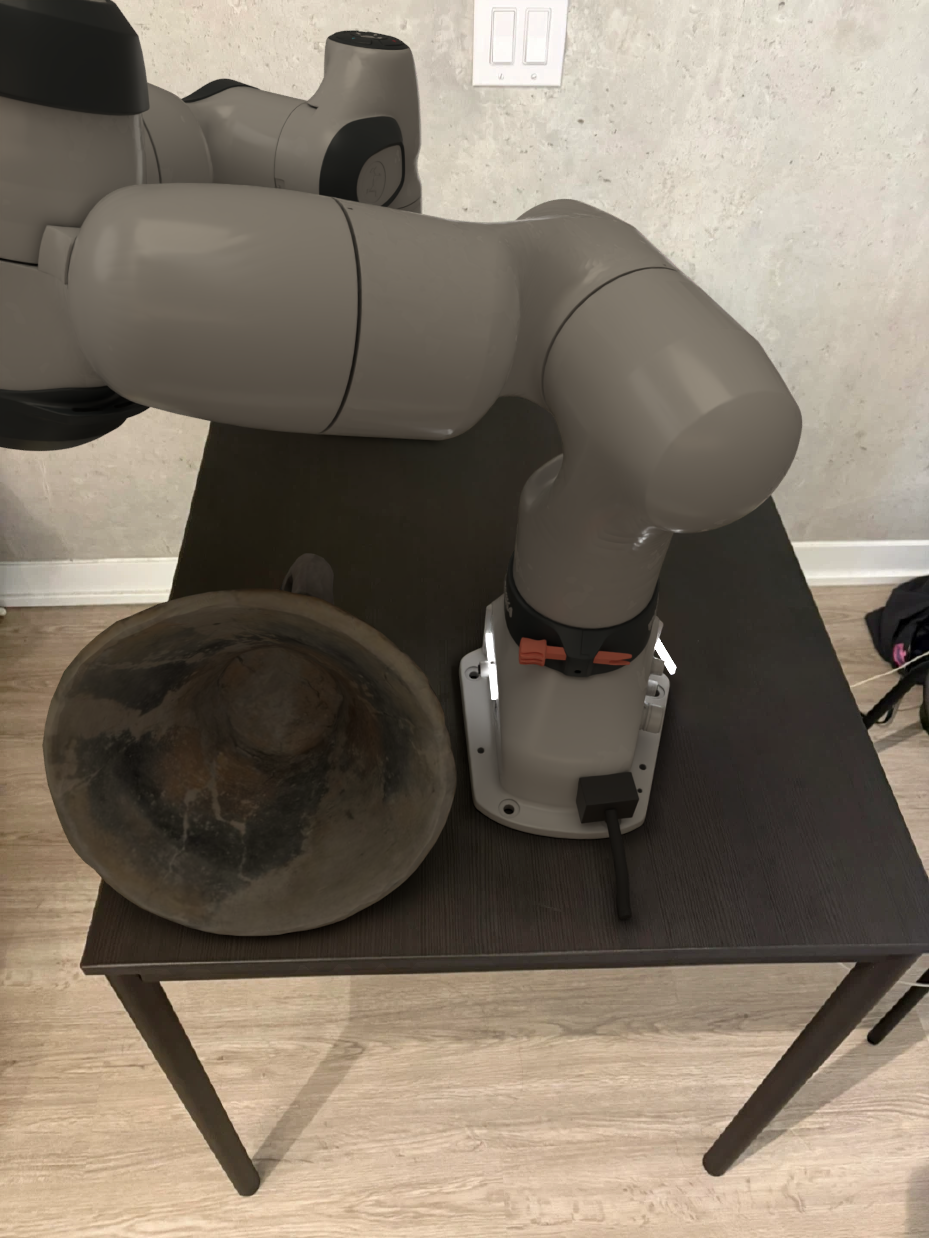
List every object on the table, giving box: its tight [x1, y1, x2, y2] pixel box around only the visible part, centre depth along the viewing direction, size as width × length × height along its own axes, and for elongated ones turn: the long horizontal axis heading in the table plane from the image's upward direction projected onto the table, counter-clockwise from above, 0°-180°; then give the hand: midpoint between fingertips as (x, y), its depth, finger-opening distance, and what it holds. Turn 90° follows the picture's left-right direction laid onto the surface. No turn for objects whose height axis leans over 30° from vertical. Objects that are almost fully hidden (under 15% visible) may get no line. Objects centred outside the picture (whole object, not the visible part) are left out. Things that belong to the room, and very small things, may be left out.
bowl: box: [41, 552, 458, 937], centre depth 63 cm, size 27×26×15 cm
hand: (384, 343), depth 96 cm, fingers closed on pill bottle, 6 cm apart
